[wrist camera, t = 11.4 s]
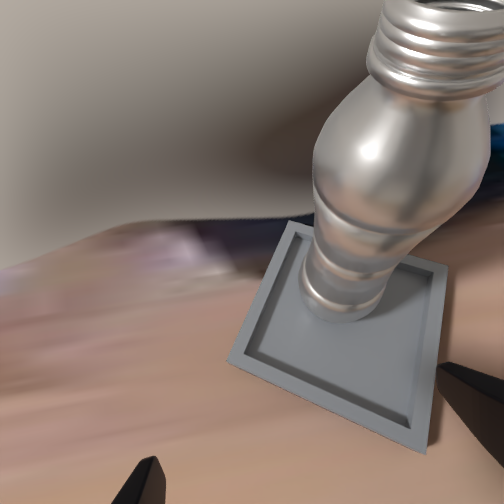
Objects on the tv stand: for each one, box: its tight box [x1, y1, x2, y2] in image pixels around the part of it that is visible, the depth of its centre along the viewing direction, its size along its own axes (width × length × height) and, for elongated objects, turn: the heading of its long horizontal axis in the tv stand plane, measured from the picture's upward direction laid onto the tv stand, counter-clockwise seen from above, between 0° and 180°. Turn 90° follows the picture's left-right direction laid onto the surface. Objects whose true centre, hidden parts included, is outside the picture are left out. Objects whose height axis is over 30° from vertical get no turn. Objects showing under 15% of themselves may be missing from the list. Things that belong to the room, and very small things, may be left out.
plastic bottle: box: [298, 0, 504, 324], centre depth 15 cm, size 6×7×20 cm
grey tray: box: [226, 220, 449, 455], centre depth 22 cm, size 14×14×2 cm
